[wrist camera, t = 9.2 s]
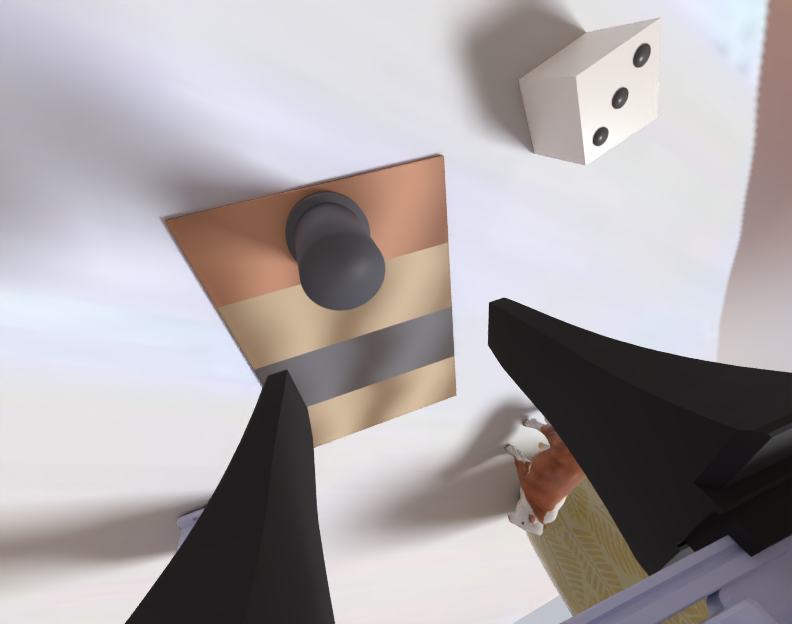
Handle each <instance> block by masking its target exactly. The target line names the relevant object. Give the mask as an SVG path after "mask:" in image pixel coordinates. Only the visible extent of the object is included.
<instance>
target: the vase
mask: <svg viewBox="0 0 792 624" xmlns="http://www.w3.org/2000/svg"><path fill="white" fill-rule="evenodd" d="M520 499H521V495H520ZM545 526H546V529H544V530H543V533H542V535H540V536H539V535H536V534H534V533H531V532H528V531H526V533H527V536H528V538H529V540H530V542H531V544H532V546H533V548H534V550H535V552H536V554H537V556H538V557H539V559H540V561H541V563H542V565H543V567H544V568H545V570H546V572H547V574H548V576H549V577H550V579H551V581H552V582H553V584H554V586H555V588H556V589H557V591H558V593H559V594H560V596H561V598H562V599H563V601H564V603H565V604H566V606H567V608H568V609H569V611H570V612H571V614H572V616H575V615H577V614H579V613H581V612H583V611H585V610H587V609H589V608H590V607H592V606H594V605H596V604H598V603H600V602H602V601H604V600H606V599H607V598H609V597H611V596H613V595H615V594H617V593H619V592H621V591H623V590H625V589H626V588H628V587H630V586H632V585H634V584H636V583H638V582H640V581H642V580H643V579H645V578H647V577H649V576H648V574H647V573H646V572H645V571H644V569H643V568H642V567H641V565H640V564H639V563H638V562H637V560H636V559H635V557H634V555H633V554H632V552H631V550H630V548H629V546H628V544H627V543H626V541H625V539H624V537H623V536H622V534H621V532H620V531H619V529H618V527H617V526H616V524H615V522H614V520H613V519H612V517H611V515H610V514H609V512H608V510H607V508H606V507H605V505H604V504H603V502H602V500H601V499H600V497H599V496H598V494H597V492H596V491H595V489H594V488H593V486H592V484H591V483H590V481H589V480H588V478H587V476H586V477H585V478H584V479H583V480H582V481H581V482H580V483H579V484H578V485H577V486H576V487H575V488H574V489H573V490H572V491H571V492H570V493H569V494H568V496H567V497H566V500H565V502H564V504H563V505H562V506H561V508H560V509H559V510H558V514H557V517H556V519H555V520H554V521H552V522H550V523H546V524H545ZM706 599H707V597H706V598H704V599H703V600H701V601H699V602H697V603H695V604H694V605H692V606H690V607H688V608H686V609H685V610H683V611H681V612H679V613H678V614H676V615H674V616H672V617H670V618H669V619H667V620H665V621H663V622H661V623H660V624H698V623H700V622H701V621H703V620H705V619H707V618H708V616H709V611H708V609H707V606H706Z"/></svg>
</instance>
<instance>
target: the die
mask: <svg viewBox="0 0 792 624" xmlns="http://www.w3.org/2000/svg"><path fill="white" fill-rule="evenodd" d="M660 35H661V18H656V19H651V20H646V21H641V22H636V23H631V24H626V25H621V26H616V27H611V28H605V29H600V30H595V31H590V32H586V33H585V34H583V35H582V36H580V37H579V38H577V39H576V40H575V41H573V42H572V43H570V44H569V45H568V46H566V47H565V48H563V49H562V50H560V51H559V52H558V53H556V54H555V55H553V56H552V57H550V58H549V59H548V60H546V61H545V62H543V63H542V64H540V65H539V66H538V67H536V68H535V69H533V70H532V71H530V72H529V73H528V74H526V75H525V76H523V77H522V78H520V79H519V85H520V90H521V94H522V99H523V103H524V108H525V113H526V117H527V122H528V127H529V131H530V136H531V140H532V145H533V150H534V154H538V155H542V156H547V157H551V158H555V159H560V160H564V161H569V162H573V163H577V164H582V165H587V164H589V163H590V162H592V161H593V160H595V159H596V158H598V157H599V156H600V155H602V154H603V153H605V152H606V151H608V150H609V149H611V148H612V147H614V146H615V145H617V144H618V143H620V142H621V141H623V140H624V139H626V138H627V137H629V136H630V135H632V134H633V133H635V132H636V131H638V130H639V129H641V128H642V127H644V126H645V125H647V124H648V123H650V122H651V121H653V120H654V119H656V118H657V117H658V91H659V63H660Z"/></svg>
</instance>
